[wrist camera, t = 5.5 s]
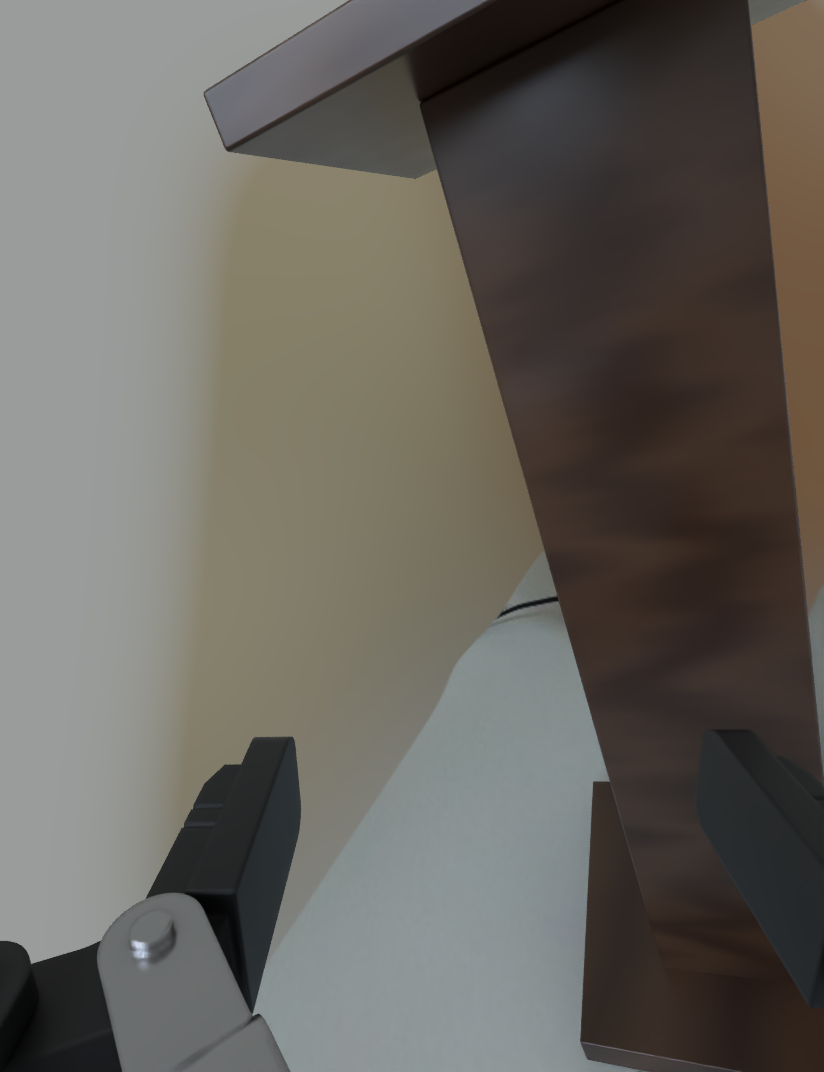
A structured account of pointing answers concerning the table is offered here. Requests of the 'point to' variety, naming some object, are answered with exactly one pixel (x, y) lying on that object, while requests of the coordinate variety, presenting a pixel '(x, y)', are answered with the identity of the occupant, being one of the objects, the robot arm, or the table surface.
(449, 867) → the table surface
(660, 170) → the stand
